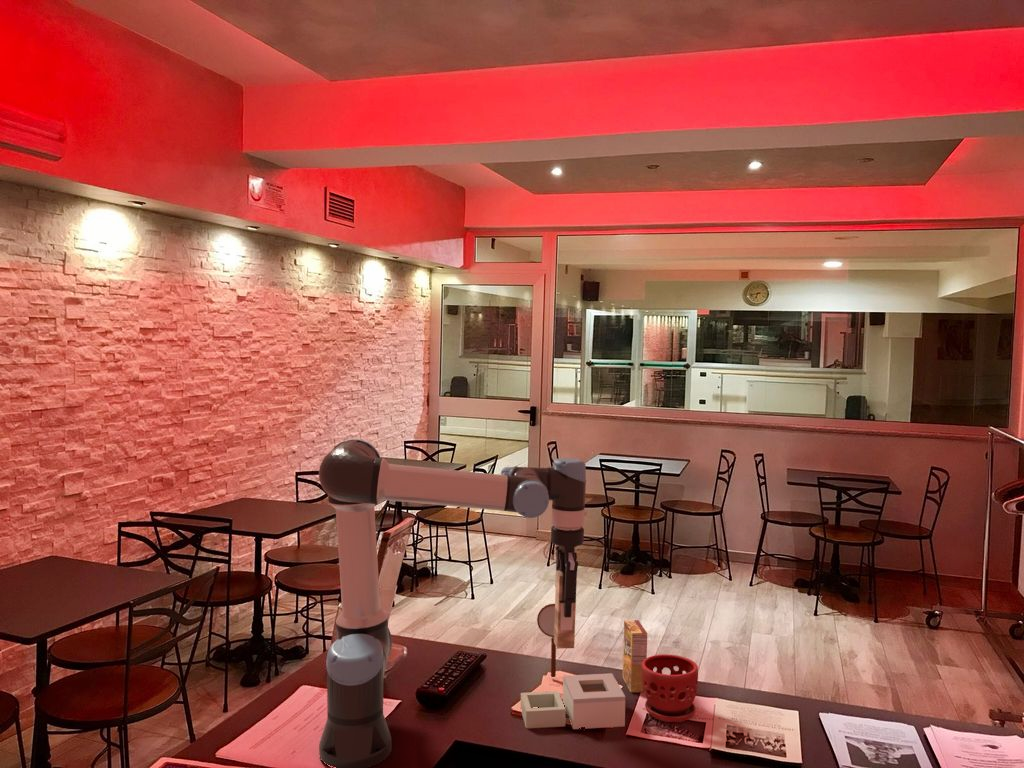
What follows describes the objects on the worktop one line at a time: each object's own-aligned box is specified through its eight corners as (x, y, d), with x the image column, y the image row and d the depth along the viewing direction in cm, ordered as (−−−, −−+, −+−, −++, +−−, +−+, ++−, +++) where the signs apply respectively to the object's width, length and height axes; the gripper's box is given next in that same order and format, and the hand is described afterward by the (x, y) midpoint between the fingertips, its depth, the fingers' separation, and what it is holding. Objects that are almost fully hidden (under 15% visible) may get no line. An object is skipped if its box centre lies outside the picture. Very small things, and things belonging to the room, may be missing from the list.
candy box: (621, 677, 203) (622, 619, 202) (637, 676, 203) (638, 619, 202) (630, 693, 194) (631, 633, 193) (646, 692, 195) (648, 632, 194)
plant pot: (701, 706, 188) (703, 658, 187) (690, 732, 176) (691, 680, 175) (648, 695, 193) (649, 648, 192) (633, 719, 181) (634, 669, 180)
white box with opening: (573, 729, 177) (573, 699, 176) (562, 703, 188) (563, 675, 188) (624, 726, 178) (625, 696, 178) (611, 701, 190) (611, 673, 189)
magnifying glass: (570, 679, 202) (571, 603, 200) (569, 682, 200) (571, 605, 199) (536, 677, 202) (537, 602, 201) (536, 680, 201) (537, 604, 199)
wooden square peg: (557, 648, 179) (559, 575, 178) (553, 641, 183) (556, 570, 182) (574, 648, 179) (576, 575, 178) (570, 641, 183) (573, 570, 182)
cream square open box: (526, 728, 177) (526, 711, 176) (520, 709, 186) (520, 692, 185) (565, 726, 178) (565, 709, 178) (557, 707, 187) (558, 690, 186)
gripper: (592, 536, 171) (588, 640, 173) (575, 517, 188) (572, 612, 190) (558, 536, 170) (554, 640, 172) (545, 517, 187) (541, 612, 189)
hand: (564, 625), depth 181 cm, fingers closed on wooden square peg, 4 cm apart
